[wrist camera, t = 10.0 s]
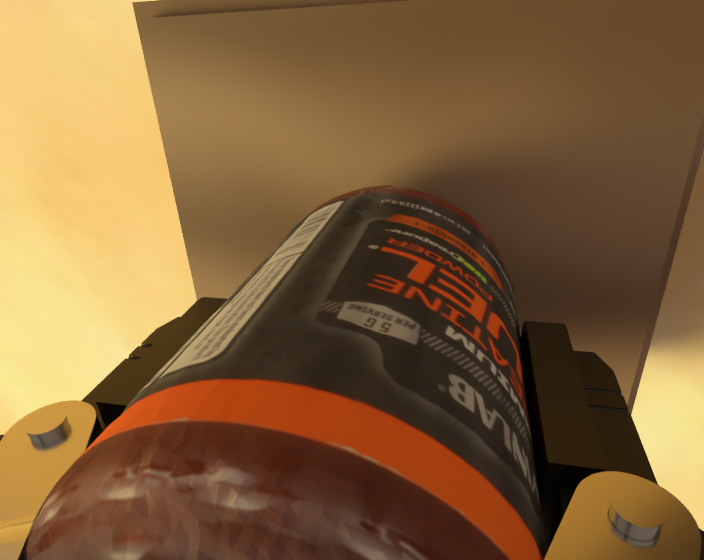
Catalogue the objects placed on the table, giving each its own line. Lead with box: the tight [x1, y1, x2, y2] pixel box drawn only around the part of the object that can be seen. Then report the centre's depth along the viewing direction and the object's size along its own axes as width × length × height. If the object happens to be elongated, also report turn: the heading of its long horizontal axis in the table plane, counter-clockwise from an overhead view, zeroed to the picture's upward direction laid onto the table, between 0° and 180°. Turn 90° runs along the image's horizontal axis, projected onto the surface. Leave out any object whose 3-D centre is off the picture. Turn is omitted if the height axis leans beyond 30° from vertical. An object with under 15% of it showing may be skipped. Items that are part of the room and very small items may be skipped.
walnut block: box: [132, 0, 704, 414], centre depth 17 cm, size 14×14×7 cm
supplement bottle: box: [24, 185, 547, 560], centre depth 8 cm, size 6×6×11 cm
